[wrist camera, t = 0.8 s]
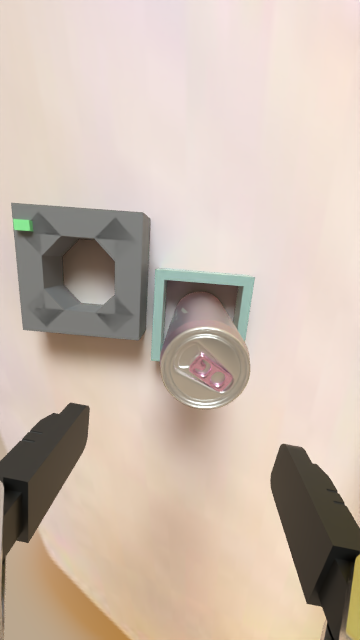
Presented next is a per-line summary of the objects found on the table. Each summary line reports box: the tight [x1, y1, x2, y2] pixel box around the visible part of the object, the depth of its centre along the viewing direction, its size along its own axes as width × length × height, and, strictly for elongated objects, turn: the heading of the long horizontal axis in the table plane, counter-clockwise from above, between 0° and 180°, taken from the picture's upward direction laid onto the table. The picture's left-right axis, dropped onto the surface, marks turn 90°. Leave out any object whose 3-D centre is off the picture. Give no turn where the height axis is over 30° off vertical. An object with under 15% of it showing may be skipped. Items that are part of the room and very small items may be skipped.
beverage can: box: [160, 291, 250, 409], centre depth 22 cm, size 6×6×15 cm
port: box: [11, 203, 150, 340], centre depth 27 cm, size 13×13×4 cm
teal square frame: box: [151, 268, 255, 361], centre depth 28 cm, size 10×10×3 cm
